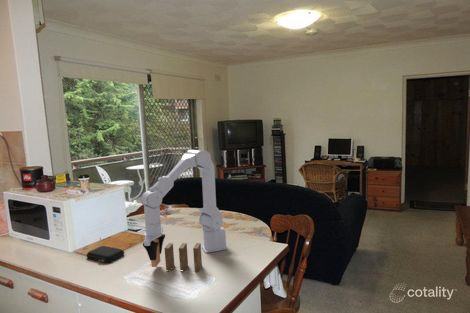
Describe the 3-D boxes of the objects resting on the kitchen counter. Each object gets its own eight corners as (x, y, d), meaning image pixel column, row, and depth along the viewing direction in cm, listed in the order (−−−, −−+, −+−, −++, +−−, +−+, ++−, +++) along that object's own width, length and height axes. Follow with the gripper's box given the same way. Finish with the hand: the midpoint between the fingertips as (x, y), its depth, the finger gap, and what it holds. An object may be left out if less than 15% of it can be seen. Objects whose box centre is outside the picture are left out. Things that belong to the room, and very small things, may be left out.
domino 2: (188, 265, 127) (186, 243, 126) (184, 271, 122) (182, 248, 121) (184, 265, 127) (182, 243, 126) (180, 271, 122) (178, 248, 121)
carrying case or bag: (82, 260, 137) (106, 265, 131) (81, 253, 137) (106, 258, 130) (102, 250, 147) (126, 255, 140) (102, 244, 146) (126, 248, 140)
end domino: (160, 261, 128) (158, 239, 127) (155, 266, 123) (153, 244, 122) (156, 261, 128) (154, 239, 127) (151, 266, 123) (149, 244, 122)
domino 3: (202, 265, 126) (200, 243, 125) (198, 271, 121) (197, 248, 120) (197, 265, 126) (196, 243, 125) (194, 271, 121) (193, 248, 120)
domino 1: (174, 265, 127) (172, 243, 126) (170, 271, 122) (168, 248, 121) (170, 265, 127) (168, 243, 126) (166, 271, 123) (164, 248, 122)
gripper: (150, 216, 131) (152, 249, 133) (134, 228, 117) (137, 265, 119) (167, 216, 130) (169, 249, 132) (153, 228, 116) (156, 265, 118)
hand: (155, 256), depth 125 cm, fingers closed on end domino, 5 cm apart
